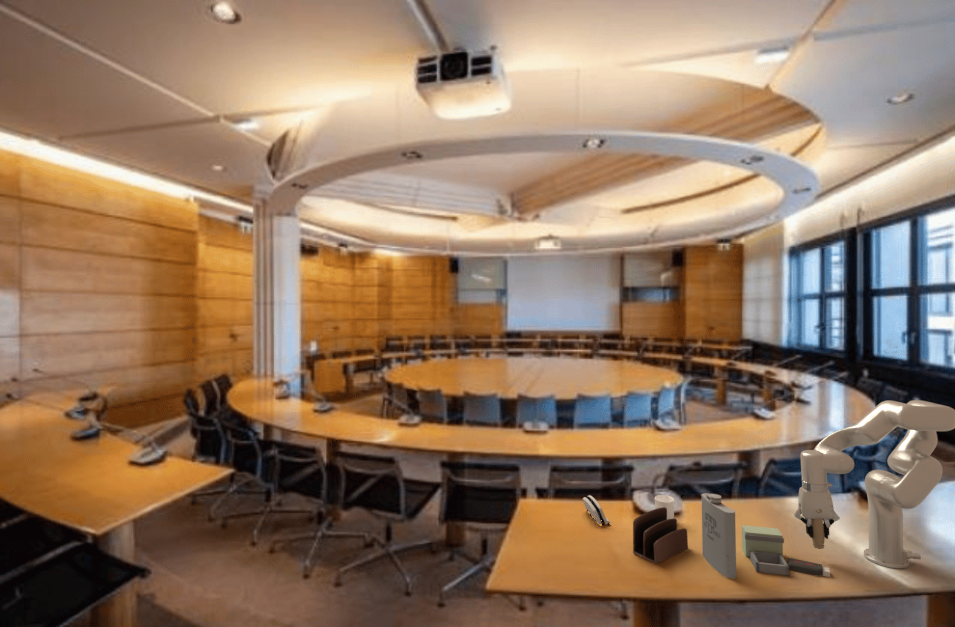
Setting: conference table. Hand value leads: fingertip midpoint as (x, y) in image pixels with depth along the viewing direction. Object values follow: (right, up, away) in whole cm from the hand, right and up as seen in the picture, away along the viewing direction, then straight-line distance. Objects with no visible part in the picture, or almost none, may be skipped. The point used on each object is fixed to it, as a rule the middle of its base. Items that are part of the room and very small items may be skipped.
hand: (817, 536), depth 177 cm
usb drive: (-8, -10, -6) cm, 14 cm away
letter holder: (-53, -10, +9) cm, 55 cm away
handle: (0, -4, 0) cm, 4 cm away
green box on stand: (-19, -9, 0) cm, 21 cm away
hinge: (-70, -10, +39) cm, 81 cm away
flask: (-37, -10, -2) cm, 38 cm away
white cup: (-42, -10, +34) cm, 55 cm away
